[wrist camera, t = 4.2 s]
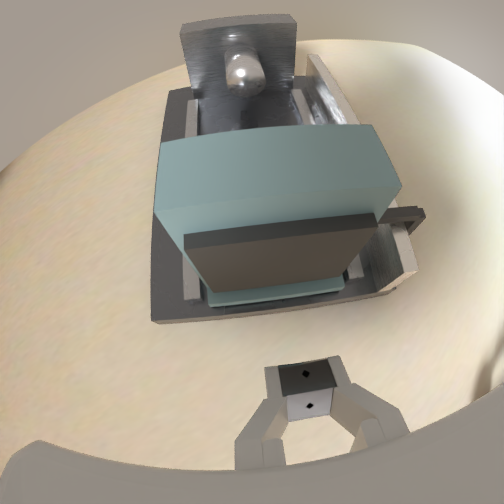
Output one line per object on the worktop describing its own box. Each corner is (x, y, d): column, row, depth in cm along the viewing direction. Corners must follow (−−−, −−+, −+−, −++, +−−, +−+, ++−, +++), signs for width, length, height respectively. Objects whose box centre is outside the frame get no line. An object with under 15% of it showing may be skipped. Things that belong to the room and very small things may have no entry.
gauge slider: (404, 278, 16) (494, 206, 8) (210, 307, 16) (152, 241, 8) (384, 212, 18) (443, 118, 10) (206, 232, 18) (163, 125, 10)
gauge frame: (387, 294, 18) (467, 237, 9) (159, 324, 18) (76, 285, 9) (311, 86, 27) (319, 15, 18) (172, 100, 27) (151, 31, 18)
